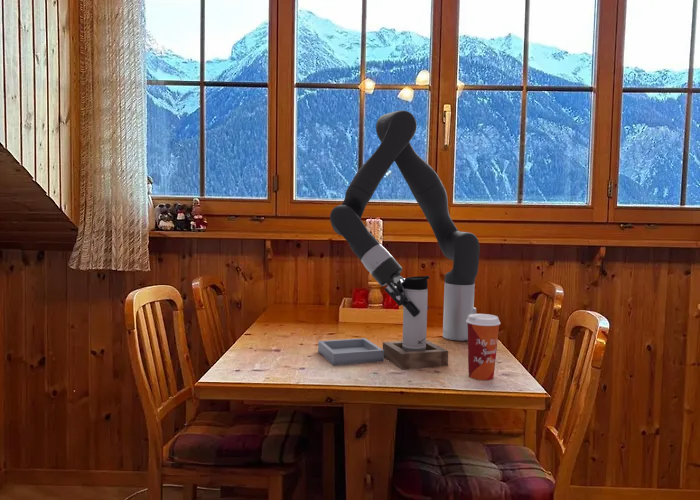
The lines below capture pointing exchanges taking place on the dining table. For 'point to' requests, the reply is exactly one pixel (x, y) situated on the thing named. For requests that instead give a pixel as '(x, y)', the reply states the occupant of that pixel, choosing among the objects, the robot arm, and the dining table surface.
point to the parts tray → (350, 351)
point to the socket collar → (415, 356)
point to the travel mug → (416, 325)
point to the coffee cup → (482, 345)
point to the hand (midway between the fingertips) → (421, 312)
